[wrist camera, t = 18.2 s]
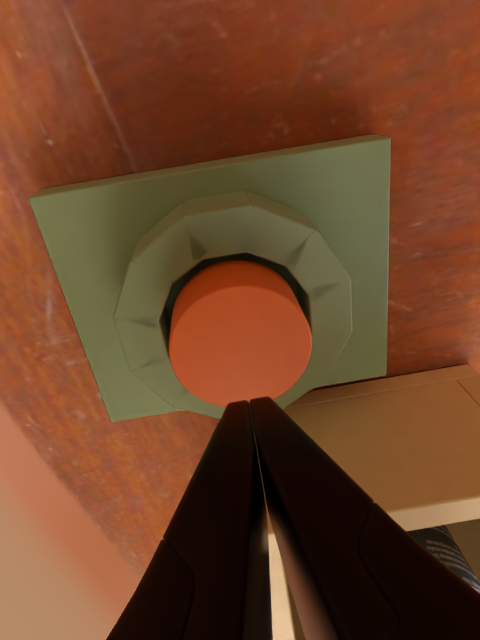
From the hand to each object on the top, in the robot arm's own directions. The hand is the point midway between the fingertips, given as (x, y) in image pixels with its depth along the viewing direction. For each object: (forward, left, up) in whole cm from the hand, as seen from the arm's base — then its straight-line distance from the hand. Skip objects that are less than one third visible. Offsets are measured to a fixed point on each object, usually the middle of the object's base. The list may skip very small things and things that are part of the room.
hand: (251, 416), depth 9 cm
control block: (0, 0, -7) cm, 7 cm away
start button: (0, 0, -4) cm, 4 cm away
